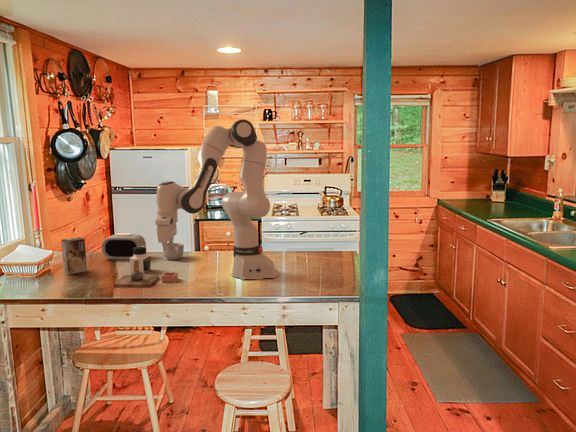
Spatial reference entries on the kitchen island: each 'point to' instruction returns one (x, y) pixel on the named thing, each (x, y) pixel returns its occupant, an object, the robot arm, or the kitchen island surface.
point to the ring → (169, 277)
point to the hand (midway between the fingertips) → (168, 248)
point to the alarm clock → (121, 245)
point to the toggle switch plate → (136, 278)
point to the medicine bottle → (140, 259)
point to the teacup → (174, 251)
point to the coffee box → (74, 255)
